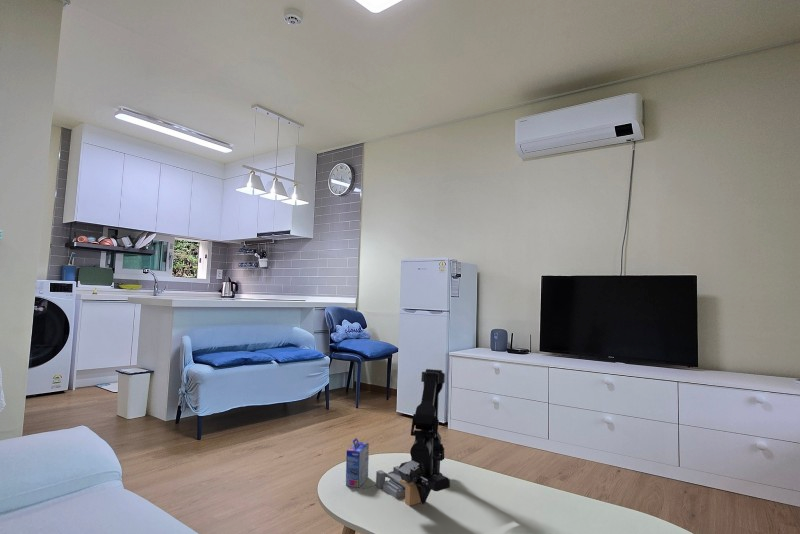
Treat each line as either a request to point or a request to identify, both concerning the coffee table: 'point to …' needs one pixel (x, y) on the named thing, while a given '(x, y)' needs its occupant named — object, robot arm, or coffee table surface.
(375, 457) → the coffee table surface
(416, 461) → the robot arm
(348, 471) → the ink cartridge box
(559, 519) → the coffee table surface
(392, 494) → the board
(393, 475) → the strap
